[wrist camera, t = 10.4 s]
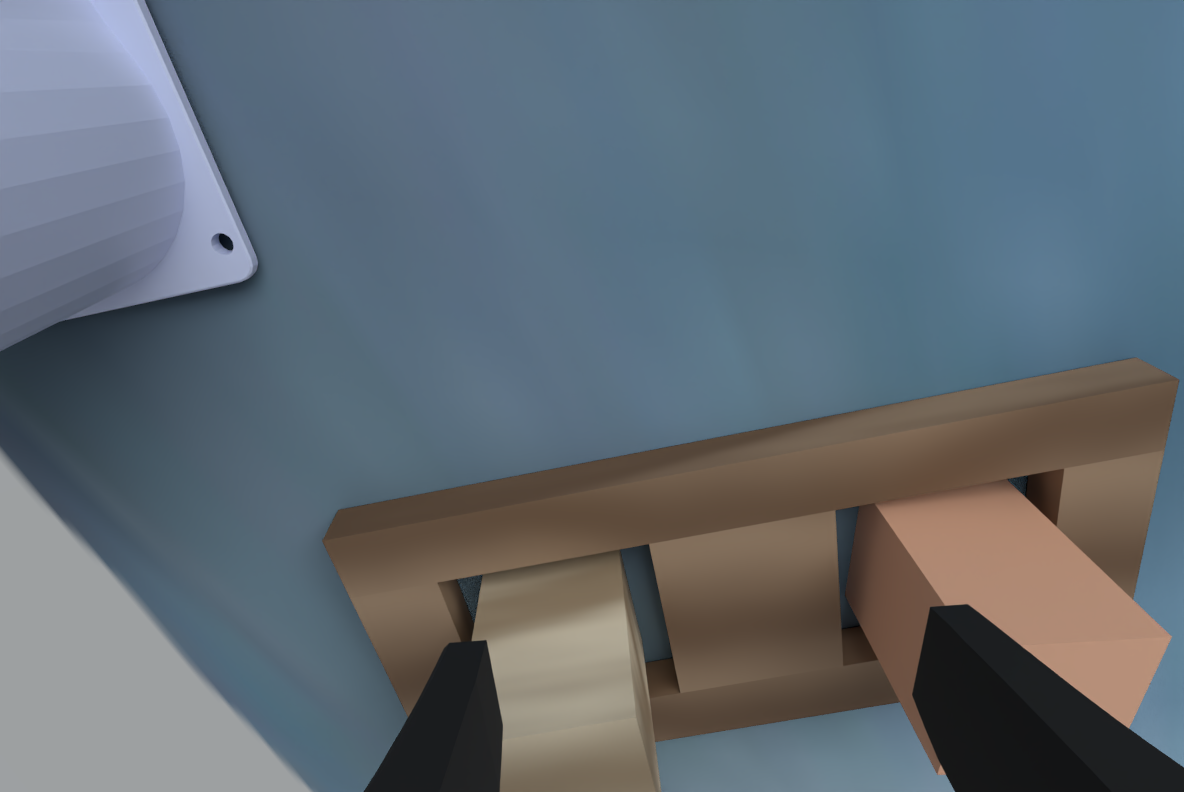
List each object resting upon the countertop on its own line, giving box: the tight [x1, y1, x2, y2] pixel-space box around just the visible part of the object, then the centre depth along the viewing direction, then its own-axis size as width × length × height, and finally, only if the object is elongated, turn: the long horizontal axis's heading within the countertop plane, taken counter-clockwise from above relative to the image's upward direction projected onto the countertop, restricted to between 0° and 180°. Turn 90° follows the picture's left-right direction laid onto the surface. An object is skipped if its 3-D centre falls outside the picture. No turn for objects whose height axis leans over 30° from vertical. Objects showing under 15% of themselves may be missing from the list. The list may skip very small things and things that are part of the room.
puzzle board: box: [322, 358, 1179, 742], centre depth 22 cm, size 11×24×2 cm, turn 102°
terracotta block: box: [845, 479, 1171, 775], centre depth 19 cm, size 4×4×6 cm
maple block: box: [472, 549, 661, 792], centre depth 20 cm, size 4×4×6 cm
